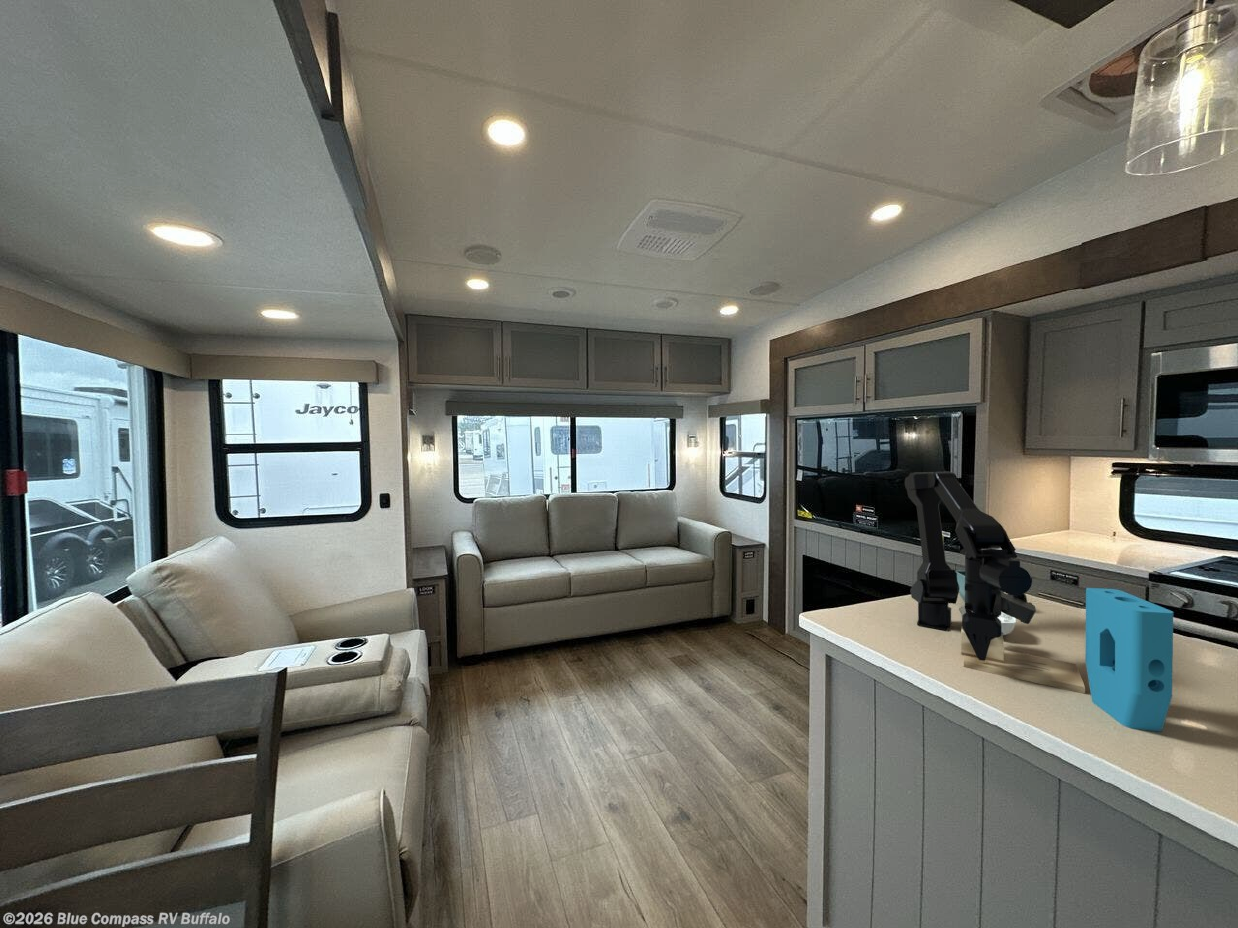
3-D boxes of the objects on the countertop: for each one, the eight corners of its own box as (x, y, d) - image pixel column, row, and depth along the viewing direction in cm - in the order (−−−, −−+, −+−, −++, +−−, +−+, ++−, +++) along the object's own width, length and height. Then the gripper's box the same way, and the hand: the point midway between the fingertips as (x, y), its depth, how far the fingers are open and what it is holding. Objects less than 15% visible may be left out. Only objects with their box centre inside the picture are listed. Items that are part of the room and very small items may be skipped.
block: (1082, 694, 85) (1083, 587, 84) (1116, 697, 83) (1117, 589, 82) (1134, 734, 73) (1136, 611, 72) (1175, 738, 72) (1177, 613, 71)
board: (963, 666, 96) (963, 660, 96) (965, 647, 105) (965, 642, 105) (1085, 693, 85) (1085, 687, 85) (1076, 669, 93) (1076, 663, 93)
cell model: (991, 645, 105) (990, 616, 105) (948, 624, 117) (948, 598, 117) (1030, 641, 106) (1031, 613, 106) (984, 621, 118) (984, 596, 118)
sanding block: (961, 654, 99) (961, 631, 99) (962, 646, 102) (962, 624, 102) (1003, 663, 94) (1003, 639, 94) (1003, 655, 98) (1002, 632, 98)
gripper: (1036, 599, 85) (1035, 681, 86) (1029, 575, 100) (1029, 645, 101) (961, 589, 92) (962, 664, 93) (965, 568, 107) (965, 633, 108)
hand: (981, 651), depth 98 cm, fingers open, 9 cm apart
